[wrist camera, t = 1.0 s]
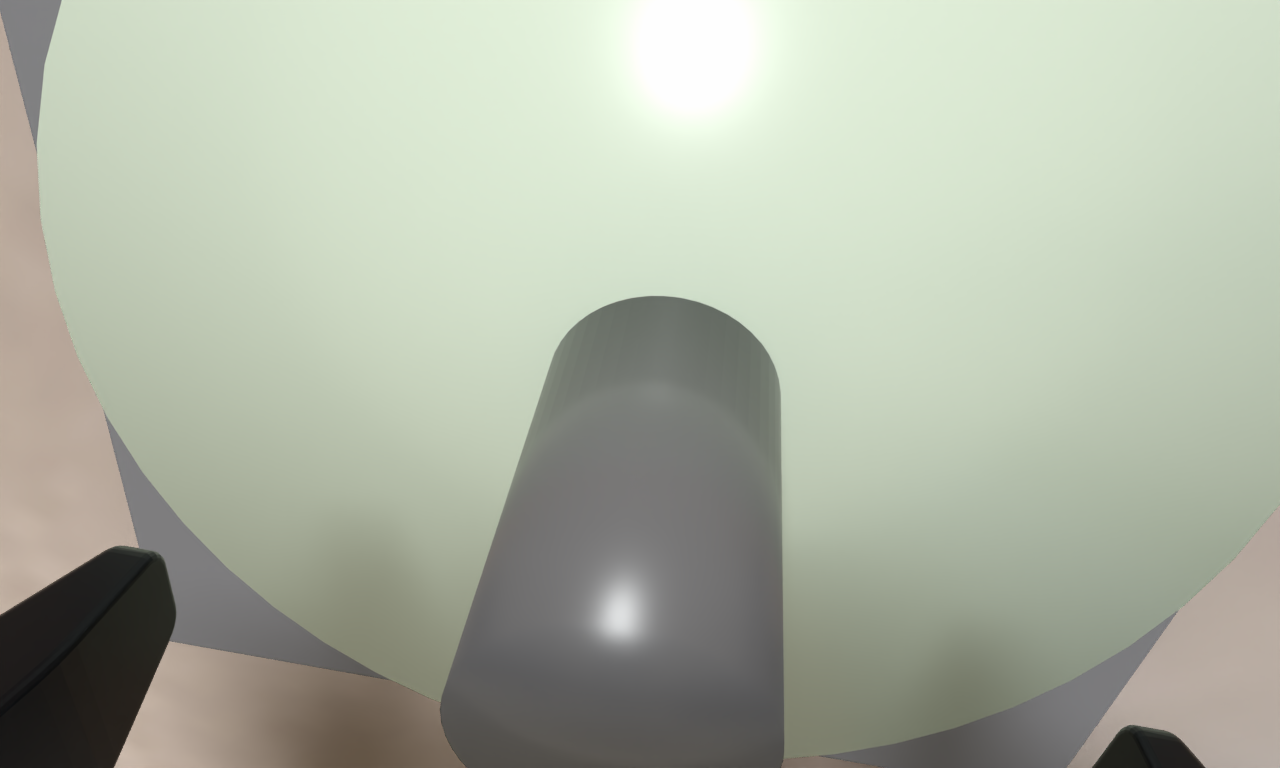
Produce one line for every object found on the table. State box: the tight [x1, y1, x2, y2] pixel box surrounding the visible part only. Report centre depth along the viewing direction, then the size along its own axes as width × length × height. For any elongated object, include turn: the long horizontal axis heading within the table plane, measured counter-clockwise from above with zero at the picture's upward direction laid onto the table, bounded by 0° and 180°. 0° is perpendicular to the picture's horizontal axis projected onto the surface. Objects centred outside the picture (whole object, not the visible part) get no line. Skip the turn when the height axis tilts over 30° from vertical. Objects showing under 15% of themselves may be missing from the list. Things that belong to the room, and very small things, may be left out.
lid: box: [37, 0, 1280, 768], centre depth 11 cm, size 16×16×6 cm
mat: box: [0, 0, 1178, 768], centre depth 14 cm, size 17×17×1 cm
